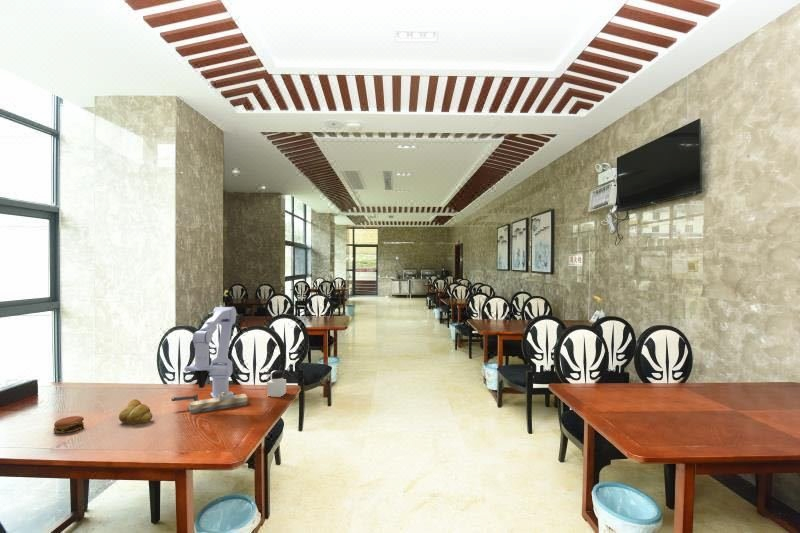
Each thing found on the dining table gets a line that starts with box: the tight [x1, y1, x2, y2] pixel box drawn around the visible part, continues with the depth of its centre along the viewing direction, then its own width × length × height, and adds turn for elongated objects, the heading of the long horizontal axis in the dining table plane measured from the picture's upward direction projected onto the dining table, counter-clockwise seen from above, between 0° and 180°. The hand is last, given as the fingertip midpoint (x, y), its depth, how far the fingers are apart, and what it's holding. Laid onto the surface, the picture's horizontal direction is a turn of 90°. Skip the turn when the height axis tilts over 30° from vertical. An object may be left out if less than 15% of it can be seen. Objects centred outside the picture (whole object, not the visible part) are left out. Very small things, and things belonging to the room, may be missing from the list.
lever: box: [171, 394, 199, 402], centre depth 189 cm, size 10×2×5 cm, turn 115°
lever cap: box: [218, 391, 235, 401], centre depth 194 cm, size 5×6×3 cm
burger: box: [53, 415, 85, 434], centre depth 164 cm, size 10×9×5 cm
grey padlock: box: [266, 369, 287, 398], centre depth 212 cm, size 7×7×12 cm
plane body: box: [188, 393, 249, 414], centre depth 192 cm, size 24×7×4 cm, turn 123°
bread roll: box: [118, 399, 153, 425], centre depth 173 cm, size 13×10×8 cm
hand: (201, 387), depth 191 cm, fingers closed
